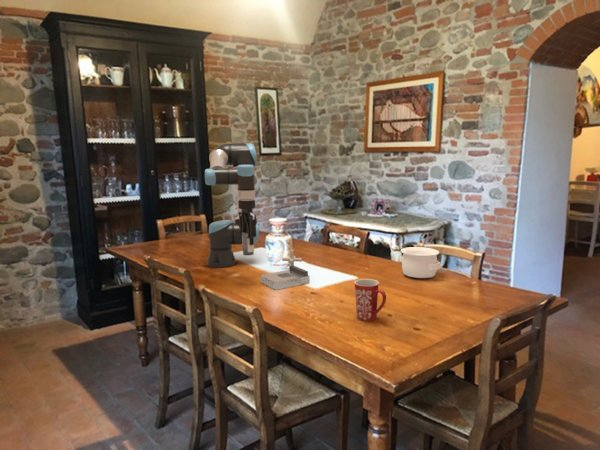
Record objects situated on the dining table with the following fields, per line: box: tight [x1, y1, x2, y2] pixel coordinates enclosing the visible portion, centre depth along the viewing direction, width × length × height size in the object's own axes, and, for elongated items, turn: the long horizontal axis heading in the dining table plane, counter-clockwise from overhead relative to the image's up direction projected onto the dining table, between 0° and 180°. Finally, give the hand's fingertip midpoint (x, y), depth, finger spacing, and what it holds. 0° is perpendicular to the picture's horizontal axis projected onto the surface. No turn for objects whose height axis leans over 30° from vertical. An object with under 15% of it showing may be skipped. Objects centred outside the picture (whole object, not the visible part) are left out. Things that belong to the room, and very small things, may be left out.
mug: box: [353, 278, 387, 322], centre depth 171 cm, size 13×9×14 cm
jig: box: [259, 265, 311, 291], centre depth 216 cm, size 14×18×6 cm
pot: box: [398, 246, 441, 279], centre depth 224 cm, size 22×17×12 cm
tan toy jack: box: [281, 249, 303, 267], centre depth 239 cm, size 10×10×10 cm
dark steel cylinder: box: [242, 232, 255, 256], centre depth 212 cm, size 5×5×10 cm
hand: (248, 250), depth 213 cm, fingers closed on dark steel cylinder, 5 cm apart
